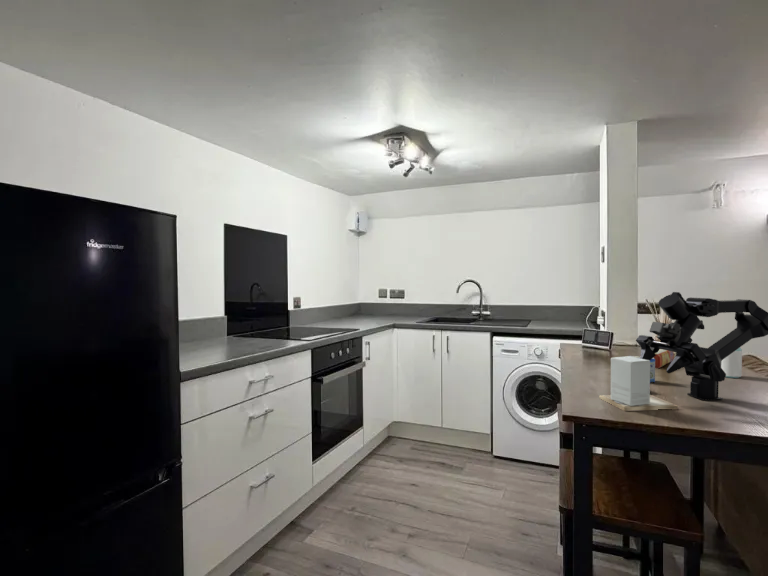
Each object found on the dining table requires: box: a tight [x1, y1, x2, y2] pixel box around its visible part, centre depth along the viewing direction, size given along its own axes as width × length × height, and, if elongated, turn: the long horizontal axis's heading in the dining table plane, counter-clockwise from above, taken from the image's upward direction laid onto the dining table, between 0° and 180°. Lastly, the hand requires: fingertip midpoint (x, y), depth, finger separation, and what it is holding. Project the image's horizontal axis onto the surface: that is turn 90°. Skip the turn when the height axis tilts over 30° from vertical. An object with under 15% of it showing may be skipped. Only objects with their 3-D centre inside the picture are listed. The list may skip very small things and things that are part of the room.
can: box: [721, 347, 743, 379], centre depth 158 cm, size 7×7×12 cm
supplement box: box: [610, 355, 651, 406], centre depth 123 cm, size 7×7×13 cm
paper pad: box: [598, 394, 679, 412], centre depth 125 cm, size 16×12×1 cm
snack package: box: [653, 349, 675, 369], centre depth 180 cm, size 21×7×7 cm, turn 132°
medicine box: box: [630, 355, 656, 383], centre depth 152 cm, size 8×4×9 cm, turn 68°
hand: (653, 369), depth 125 cm, fingers open, 9 cm apart
